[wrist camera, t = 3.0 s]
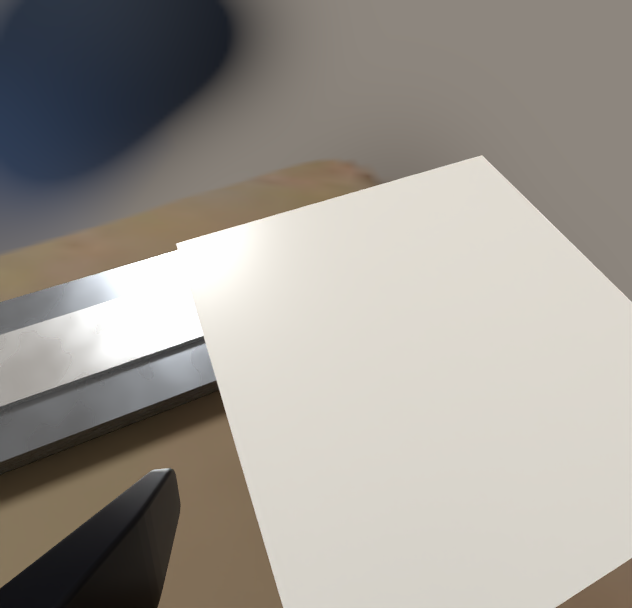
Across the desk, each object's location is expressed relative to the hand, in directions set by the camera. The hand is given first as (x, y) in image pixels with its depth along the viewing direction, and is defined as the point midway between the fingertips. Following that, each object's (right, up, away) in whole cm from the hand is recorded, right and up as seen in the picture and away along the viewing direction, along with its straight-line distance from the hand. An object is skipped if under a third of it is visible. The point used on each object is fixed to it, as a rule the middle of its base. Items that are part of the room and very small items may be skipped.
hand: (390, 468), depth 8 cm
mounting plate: (-9, +2, +11) cm, 14 cm away
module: (0, -4, +8) cm, 9 cm away
